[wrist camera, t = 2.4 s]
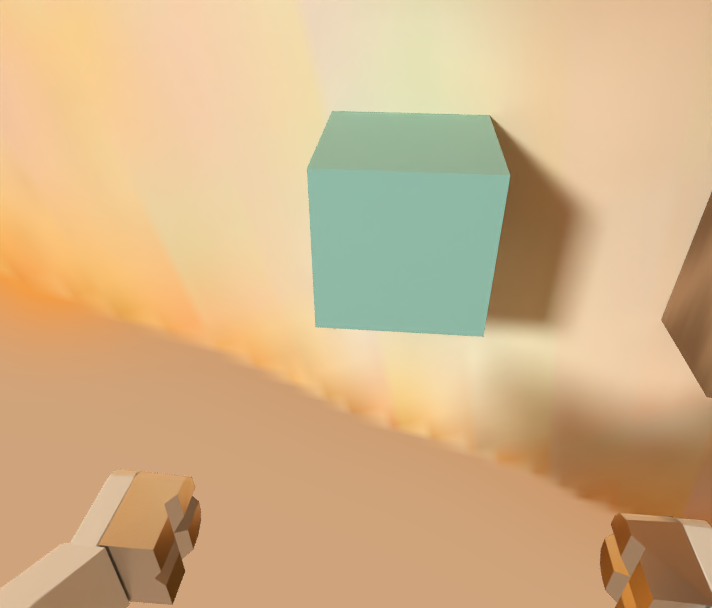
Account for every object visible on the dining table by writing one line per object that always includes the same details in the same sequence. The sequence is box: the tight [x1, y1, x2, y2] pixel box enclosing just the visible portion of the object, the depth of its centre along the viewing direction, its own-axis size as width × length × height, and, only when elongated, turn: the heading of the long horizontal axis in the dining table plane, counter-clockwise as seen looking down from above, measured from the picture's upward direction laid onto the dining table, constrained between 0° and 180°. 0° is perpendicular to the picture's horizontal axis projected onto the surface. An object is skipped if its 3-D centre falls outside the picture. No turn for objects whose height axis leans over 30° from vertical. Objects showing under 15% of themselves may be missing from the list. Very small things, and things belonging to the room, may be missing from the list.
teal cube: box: [307, 111, 510, 337], centre depth 21 cm, size 6×6×6 cm
